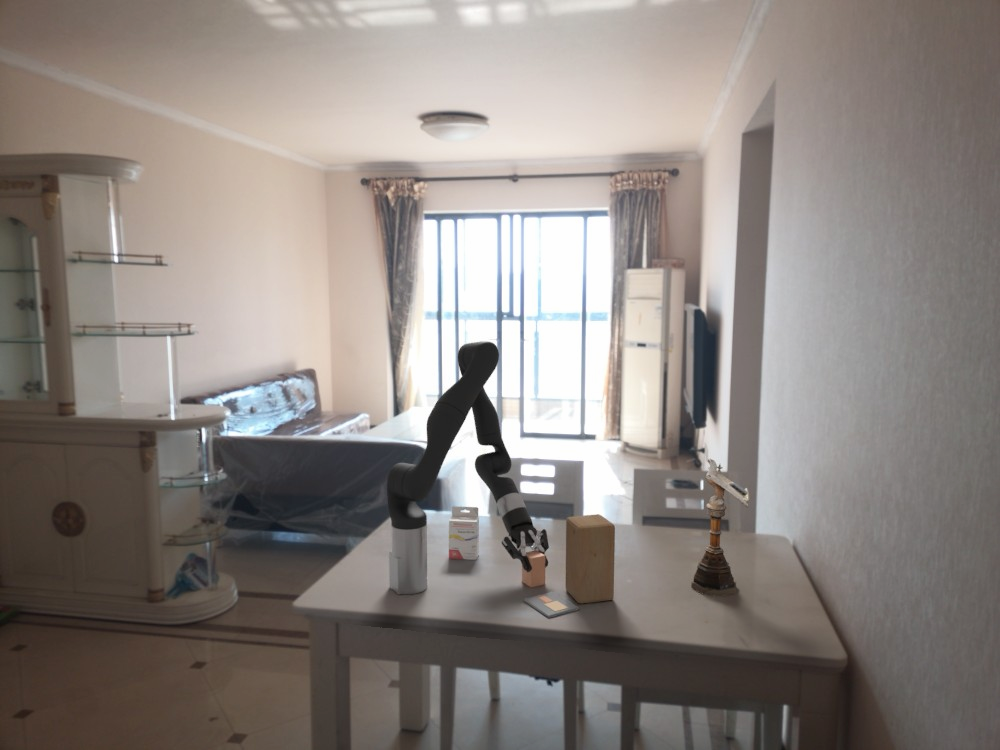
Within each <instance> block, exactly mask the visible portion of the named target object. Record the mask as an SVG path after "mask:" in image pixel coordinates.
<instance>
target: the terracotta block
mask: <svg viewBox="0 0 1000 750" xmlns="http://www.w3.org/2000/svg"><path fill="white" fill-rule="evenodd" d="M545 555H546V554H545ZM545 555H544V554H542V553H540V552H538V551H537V550H535V551H534V550H530V551H526V556H527V557H528V560H529V562H530V565H531V566H532V570H531V571H530V572H527V571H526V570H524V568H523V565H522V564H521V582H522V583H524V585H527V586H528V587H530V588H535V587H539V586H543V585H546V568H545Z"/></svg>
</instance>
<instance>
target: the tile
mask: <svg viewBox="0 0 1000 750" xmlns="http://www.w3.org/2000/svg"><path fill="white" fill-rule="evenodd" d="M523 602H525V603H526V604H528V605H529V606H530V607H531V608H533V609H535V611H537V612H539V613H540V614H542V615H544V616H545V617H546V618H548V619H550V618H553V617H556V616H557V617H558V616H560V615H564V614H568V613H571V612H574V611H578V610H580V609H579V606H577V605H575V604H574V603H573V602H571V601H569V600H567V599H566V598H564V597H563V596H561V595H560V594H558V593H557V592H555V591H549V592H546V593H542V594H538V595H534V596H530V597H526V598H523Z"/></svg>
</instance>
